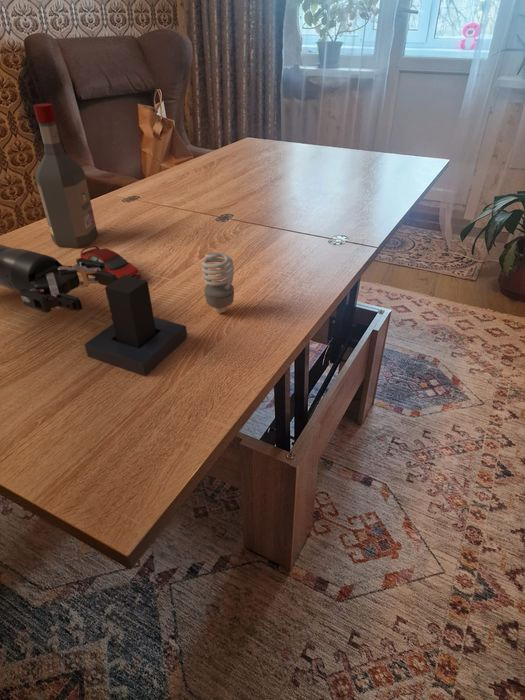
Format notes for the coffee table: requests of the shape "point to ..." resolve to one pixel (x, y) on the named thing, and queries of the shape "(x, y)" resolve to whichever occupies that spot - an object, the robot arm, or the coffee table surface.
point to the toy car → (111, 262)
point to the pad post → (131, 310)
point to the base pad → (135, 358)
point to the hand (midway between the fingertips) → (98, 292)
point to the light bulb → (218, 291)
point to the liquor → (62, 188)
